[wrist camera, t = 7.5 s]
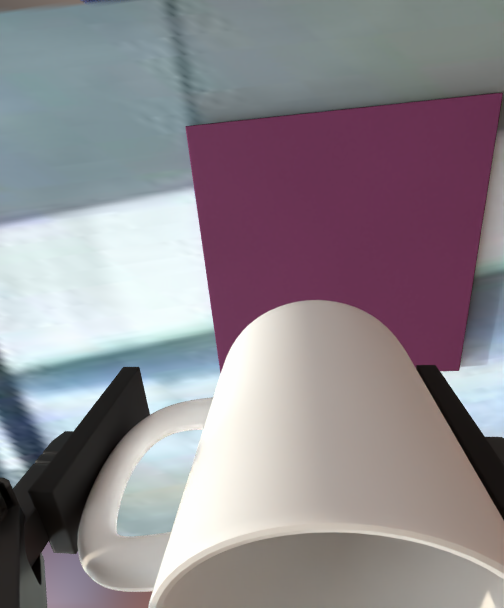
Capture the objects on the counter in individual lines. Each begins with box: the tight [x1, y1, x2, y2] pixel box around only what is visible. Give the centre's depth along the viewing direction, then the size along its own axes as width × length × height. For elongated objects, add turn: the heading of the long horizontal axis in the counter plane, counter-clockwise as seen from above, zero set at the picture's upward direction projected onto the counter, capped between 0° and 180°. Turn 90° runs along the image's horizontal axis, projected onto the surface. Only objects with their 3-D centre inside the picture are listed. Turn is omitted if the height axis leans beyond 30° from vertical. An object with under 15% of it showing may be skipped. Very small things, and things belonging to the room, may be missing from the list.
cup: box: [77, 300, 504, 608], centre depth 12 cm, size 8×12×10 cm
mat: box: [186, 93, 503, 373], centre depth 30 cm, size 22×22×1 cm
